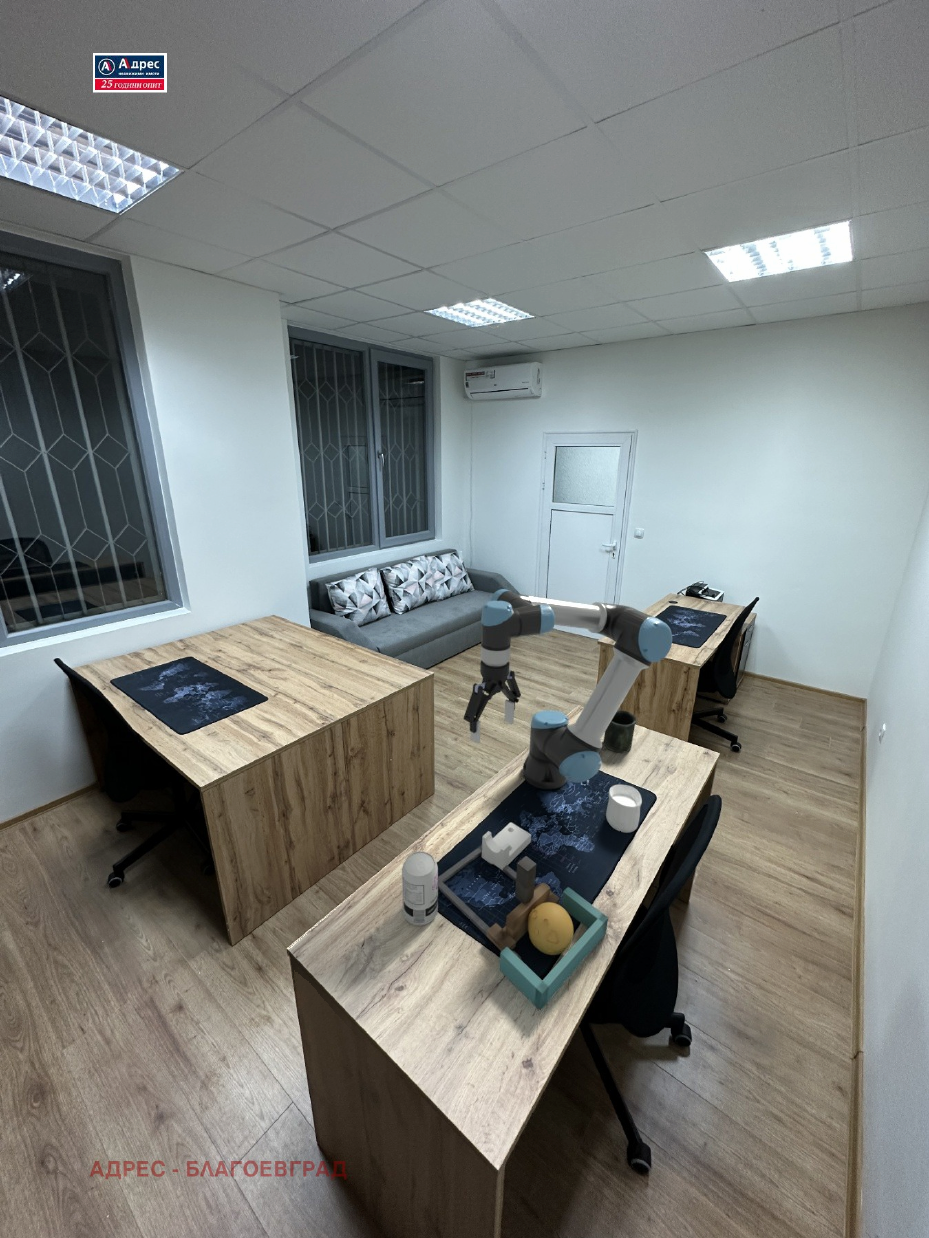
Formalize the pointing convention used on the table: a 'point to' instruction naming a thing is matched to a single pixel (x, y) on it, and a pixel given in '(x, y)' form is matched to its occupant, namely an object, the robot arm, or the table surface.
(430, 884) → the supplement can
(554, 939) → the stress ball
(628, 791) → the cup
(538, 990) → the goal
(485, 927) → the rails
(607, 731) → the mug
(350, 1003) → the table surface
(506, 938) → the carriage
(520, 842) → the bracket
